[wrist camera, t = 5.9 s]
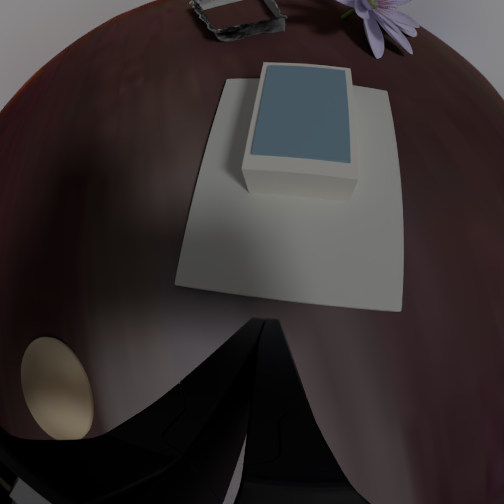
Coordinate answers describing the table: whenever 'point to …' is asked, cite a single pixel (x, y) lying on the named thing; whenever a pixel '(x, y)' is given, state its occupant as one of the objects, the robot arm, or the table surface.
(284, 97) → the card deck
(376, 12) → the water lily
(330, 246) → the mat
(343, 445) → the table surface
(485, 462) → the table surface
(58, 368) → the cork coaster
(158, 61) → the table surface
